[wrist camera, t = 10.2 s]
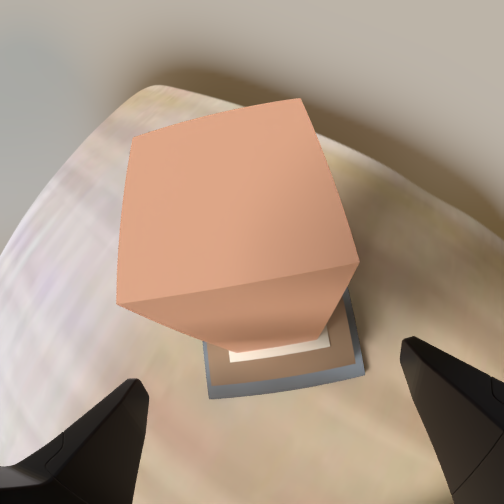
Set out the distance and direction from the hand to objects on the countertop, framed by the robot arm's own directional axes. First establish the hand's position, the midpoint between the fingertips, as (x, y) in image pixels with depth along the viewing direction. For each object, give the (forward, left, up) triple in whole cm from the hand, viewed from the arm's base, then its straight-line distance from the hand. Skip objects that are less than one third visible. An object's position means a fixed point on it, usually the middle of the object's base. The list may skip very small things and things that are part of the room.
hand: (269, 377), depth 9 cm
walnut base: (+4, -2, -12) cm, 12 cm away
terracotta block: (+4, -2, -9) cm, 10 cm away
